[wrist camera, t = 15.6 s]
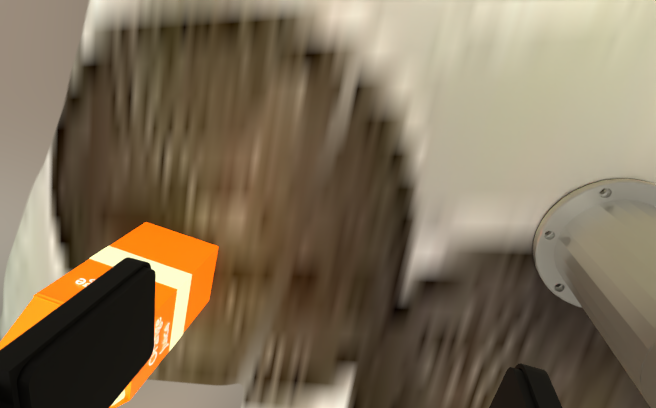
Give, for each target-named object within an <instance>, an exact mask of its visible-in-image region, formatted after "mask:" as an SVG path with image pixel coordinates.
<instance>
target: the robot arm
mask: <svg viewBox="0 0 656 408" xmlns="http://www.w3.org/2000/svg"><path fill="white" fill-rule="evenodd" d="M603 189H604V190H603ZM601 190H603V192H601ZM547 231H549V232H548V233H546V232H547ZM533 258H534V263H535V267H536V269H537V271H538V273H539V275H540V277H541V279H542V280H543V282H544V283H545V285H546V286H547V287H548V288H549V290H550V291H551V292H552V293H553V294H555V295H556V296H558V297H559V298H561V299H562V300H564V301H565V302H568V303H570V304H572V305H574V306H577V307H581V308H583V309H584V311H585V312H586V314H587V315H588V317H589V318H590V320H591V321H592V322H593V324H594V325H595V327H596V328H597V330H598V331H599V333H600V334H601V336H602V337H603V339H604V340H605V342H606V343H607V344H608V346H609V347H610V349H611V350H612V352H613V353H614V355H615V356H616V358H617V359H618V361H619V362H620V364H621V365H622V366H623V368H624V369H625V371H626V372H627V374H628V375H629V377H630V378H631V380H632V381H633V383H634V384H635V386H636V387H637V389H638V390H639V391H640V393H641V394H642V396H643V397H644V399H645V400H646V402H647V403H648V405H649V406H650V407H651V408H656V185H655V184H653V183H650V182H646V181H641V180H637V179H611V180H603V181H600V182H596V183H592V184H589V185H586V186H584V187H582V188H580V189H577V190H575V191H573V192H572V193H570V194H569V195H567V196H566V197H564V198H563V199H561V200H560V201H559V202H558V203H557V204H556V205H554V206H553V207H552V208H551V209H550V210H549V212H548V213H547V214H546V216H545V217H544V218H543V219H542V221H541V223H540V225H539V227H538V229H537V231H536V234H535V238H534V242H533ZM155 279H156V274H155V271H154V270H153V269H151V265H150V263H148V262H145V261H141V260H137V259H134V258H130V257H127V258H125V259H123V260H122V261H120V262H119V263H117V264H116V265H115V266H113V267H112V268H111V269H109V270H108V271H107V272H105V273H104V274H103V275H101V276H100V277H98V278H97V279H96V280H94V281H93V282H92V283H90V284H89V285H88V286H86V287H85V288H84V289H82V290H81V291H79V292H78V293H77V294H75V295H74V296H73V297H71V298H70V299H69V300H67V301H66V302H65V303H63V304H62V305H60V306H59V307H58V308H56V309H55V310H54V311H52V312H51V313H50V314H48V315H47V316H46V317H44V318H43V319H41V320H40V321H39V322H37V323H36V324H35V325H33V326H32V327H31V328H29V329H28V330H27V331H25V332H24V333H22V334H21V335H20V336H18V337H17V338H16V339H14V340H13V341H12V342H10V343H9V344H8V345H6V346H5V347H3V348H2V349H1V350H0V408H109V407H110V406H111V405H112V404H113V403H114V401H115V400H116V399H117V398H118V397H119V395H120V394H121V393H122V392H123V391H124V389H125V388H126V387H127V386H128V385H129V383H130V382H131V381H132V380H133V379H134V377H135V376H136V375H137V374H138V373H139V371H140V370H141V369H142V368H143V367H144V365H145V364H146V363H147V362H148V360H149V359H150V357H151V355H152V353H153V350H154V328H155ZM489 408H562V406H561V404H560V401H559V399H558V397H557V395H556V392H555V390H554V388H553V385H552V383H551V381H550V378H549V376H548V374H547V373H546V371H544V370H542V369H539V368H535V367H531V366H528V365H524V364H518V365H517V366H516V367H515V368H512V367H510V368H509V369H508V370H507V371H506V374H505V376H504V378H503V380H502V382H501V384H500V386H499V388H498V391H497V393H496V395H495V397H494V399H493V401H492V403H491V405H490V407H489Z"/></svg>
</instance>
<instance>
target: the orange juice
mask: <svg viewBox="0 0 656 408" xmlns="http://www.w3.org/2000/svg"><path fill="white" fill-rule="evenodd" d="M218 248H219V246H216V245H213V244H210V243H207V242H204V241H201V240H198V239H195V238H192V237H189V236H186V235H183V234H180V233H177V232H175V231H172V230H169V229H166V228H163V227H160V226H157V225H154V224H151V223H148V222H145V223H143V224H142V225H140V226H139V227H137V228H136V229H134V230H133V231H131V232H130V233H128V234H127V235H125V236H124V237H122V238H121V239H119V240H118V241H116V242H114V243H113V244H111V245H110V246H107V247H106V248H104V249H103V250H101V251H100V252H98V253H97V254H95V255H94V256H92V257H91V258H89V260H87V261H86V262H84V263H83V264H81V265H79V266H78V267H76V268H75V269H73V270H72V271H70V272H69V273H67V274H66V275H64V276H63V277H61V278H60V279H58V280H57V281H55V282H54V283H52V284H51V285H49V286H47V287H46V288H44V289H43V290H41V291H40V292H38V293H37V294H35V295H34V298H33V299H32V300H31V302H30V303H29V304H28V306H27V307H26V308H25V310H24V311H23V312H22V314H21V315H20V317H19V318H18V319H17V321H16V322H15V323H14V325H13V326H12V327H11V329H10V330H9V331H8V333H7V334H6V335H5V337H4V338H3V339H2V341H1V342H0V350H1V349H2V348H3V347H5V346H6V345H8V344H9V343H10V342H12V341H13V340H14V339H16V338H17V337H18V336H20V335H21V334H22V333H24V332H25V331H27V330H28V329H29V328H31V327H32V326H33V325H35V324H36V323H37V322H39V321H40V320H41V319H43V318H44V317H46V316H47V315H48V314H50V313H51V312H52V311H54V310H55V309H56V308H58V307H59V306H60V305H62V304H63V303H65V302H66V301H67V300H69V299H70V298H71V297H73V296H74V295H75V294H77V293H78V292H79V291H81V290H82V289H84V288H85V287H86V286H88V285H89V284H90V283H92V282H93V281H94V280H96V279H97V278H98V277H100V276H101V275H103V274H104V273H105V272H107V271H108V270H109V269H111V268H112V267H113V266H115V265H116V264H117V263H119V262H120V261H122V260H123V259H125V258H127V257H130V258H134V259H137V260H141V261H145V262H148V263H150V265H151V269H153V270H154V271H155V274H156V279H155V328H154V350H153V353H152V355H151V357H150V359H149V360H148V362H147V363H146V364H145V365H144V367H143V368H142V369H141V370H140V371H139V373H138V374H137V375H136V376H135V377H134V379H133V380H132V381H131V382H130V383H129V385H128V386H127V387H126V388H125V389H124V391H123V392H122V393H121V394H120V395H119V397H118V398H117V399H116V400H115V401H114V403H113V404H112V405H111V406H110V407H109V408H116V407H118V406H120V405H122V404H123V403H125V402H127V401H129V400H131V398H132V397H133V396H134V395H135V393H136V392H137V390H139V388H140V387H141V386H142V385H143V383H144V382H145V381H146V380H147V378H148V377H149V376H150V374H151V373H152V372H153V371H154V369H155V368H156V367H157V366H158V364H159V363H160V362H161V361H162V359H163V358H164V357H165V356H166V354H167V353H168V352H169V351H170V350H171V349H172V348H173V346H174V345H175V344H176V343H177V341H178V340H179V339H180V337H181V336H182V335H183V333H184V332H185V330H186V329H187V328H188V327H189V325H190V324H191V323H192V321H193V320H194V319H195V318H196V316H197V315H198V314H199V313H200V311H201V310H202V309H203V308H204V306H205V305H206V304H207V303H208V301H209V298H210V293H211V287H212V281H213V276H214V270H215V265H216V259H217V253H218Z"/></svg>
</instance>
